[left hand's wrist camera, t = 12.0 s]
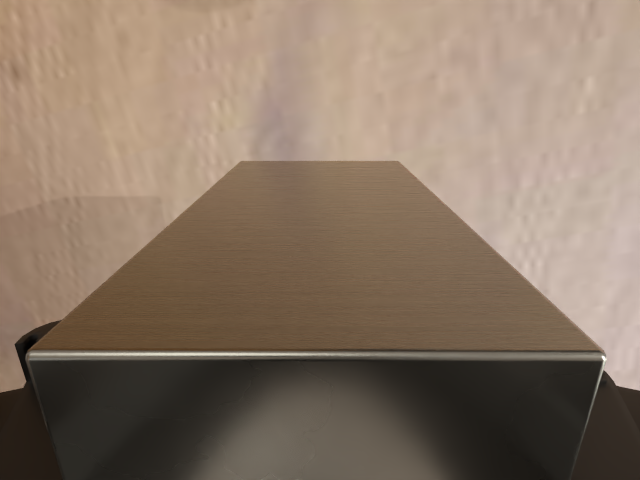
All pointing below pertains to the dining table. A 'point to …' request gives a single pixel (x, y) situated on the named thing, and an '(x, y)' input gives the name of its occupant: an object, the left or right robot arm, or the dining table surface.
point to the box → (316, 344)
